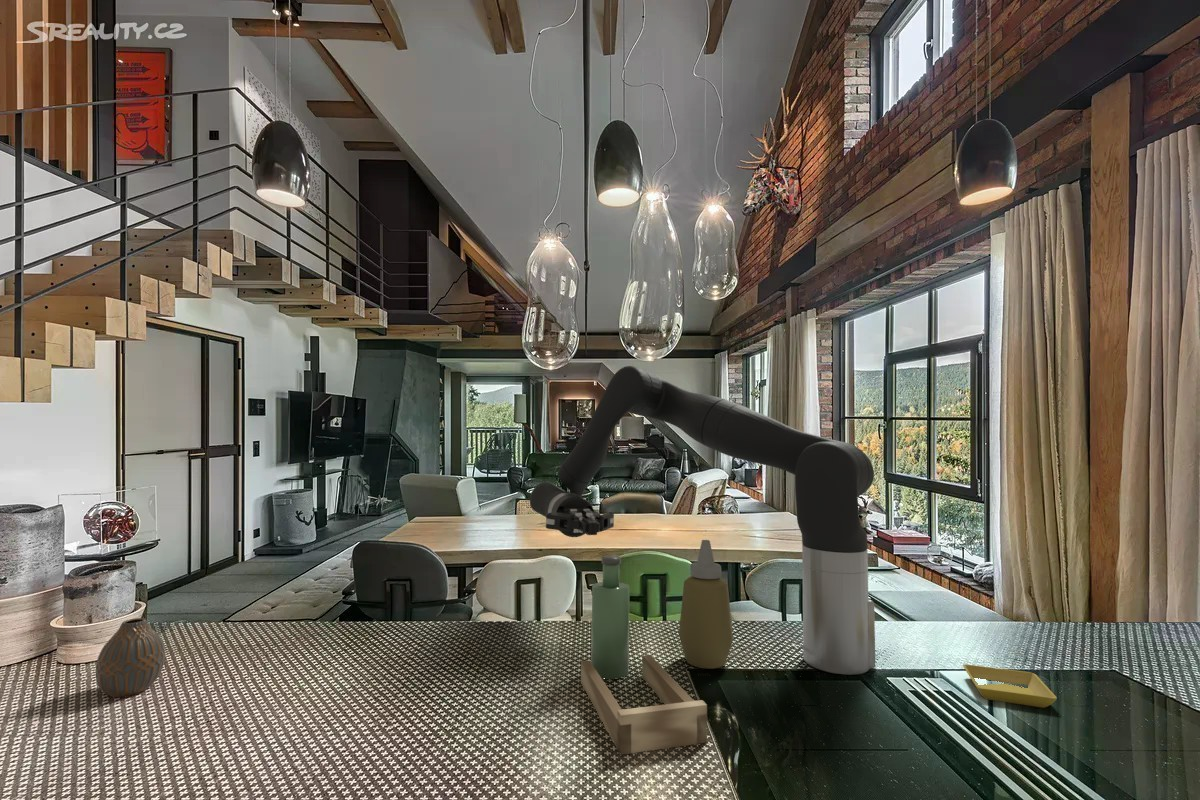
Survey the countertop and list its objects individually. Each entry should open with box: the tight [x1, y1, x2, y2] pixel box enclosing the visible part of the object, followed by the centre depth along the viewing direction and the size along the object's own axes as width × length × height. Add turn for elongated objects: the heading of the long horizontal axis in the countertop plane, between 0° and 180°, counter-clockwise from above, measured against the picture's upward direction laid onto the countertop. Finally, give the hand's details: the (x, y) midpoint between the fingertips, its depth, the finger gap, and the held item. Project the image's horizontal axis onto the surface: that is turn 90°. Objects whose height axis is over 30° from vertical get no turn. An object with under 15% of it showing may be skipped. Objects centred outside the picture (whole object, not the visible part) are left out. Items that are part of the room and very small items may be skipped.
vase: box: [95, 617, 166, 698], centre depth 73 cm, size 7×7×9 cm
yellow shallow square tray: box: [962, 664, 1058, 709], centre depth 76 cm, size 9×9×2 cm
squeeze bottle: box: [678, 539, 734, 670], centre depth 85 cm, size 8×8×18 cm
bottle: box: [590, 554, 631, 680], centre depth 81 cm, size 5×5×16 cm
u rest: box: [580, 654, 708, 755], centre depth 70 cm, size 10×18×4 cm, turn 16°
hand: (593, 528), depth 92 cm, fingers closed
